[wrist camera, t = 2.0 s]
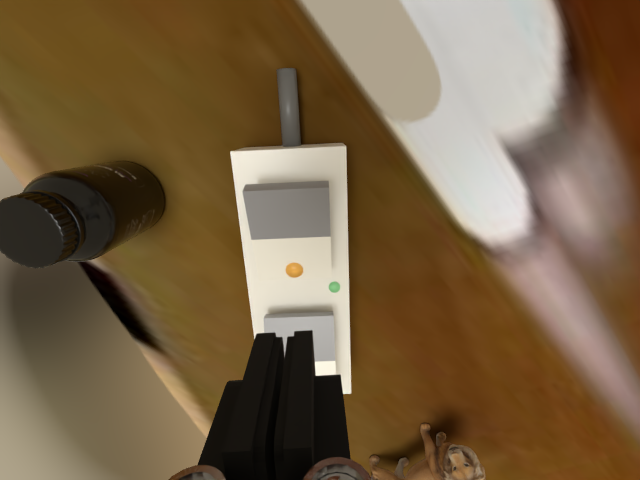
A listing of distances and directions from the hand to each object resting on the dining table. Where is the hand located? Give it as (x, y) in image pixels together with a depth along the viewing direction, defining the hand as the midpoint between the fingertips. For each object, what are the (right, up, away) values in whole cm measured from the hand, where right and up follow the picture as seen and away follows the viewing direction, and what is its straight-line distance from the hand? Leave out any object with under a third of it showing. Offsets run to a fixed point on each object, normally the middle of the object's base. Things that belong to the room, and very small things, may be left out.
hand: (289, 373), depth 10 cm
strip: (-1, +4, +23) cm, 24 cm away
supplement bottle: (-17, +8, +22) cm, 30 cm away
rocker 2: (-1, -6, +20) cm, 21 cm away
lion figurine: (+13, -21, +32) cm, 41 cm away
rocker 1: (-1, +5, +16) cm, 17 cm away
